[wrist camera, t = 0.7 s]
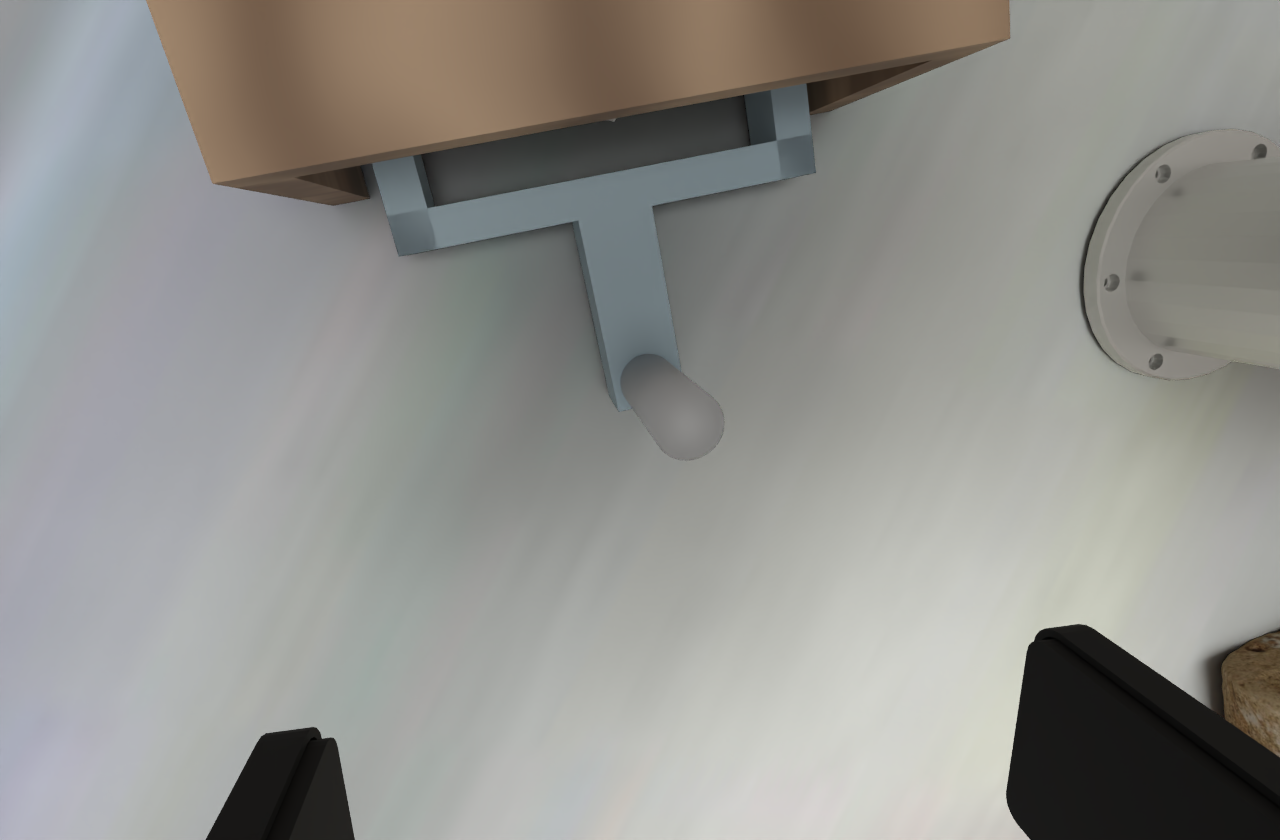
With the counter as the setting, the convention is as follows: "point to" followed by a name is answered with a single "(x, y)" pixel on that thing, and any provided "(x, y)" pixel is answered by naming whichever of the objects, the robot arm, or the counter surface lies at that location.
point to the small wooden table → (513, 70)
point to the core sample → (1254, 690)
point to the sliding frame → (620, 251)
